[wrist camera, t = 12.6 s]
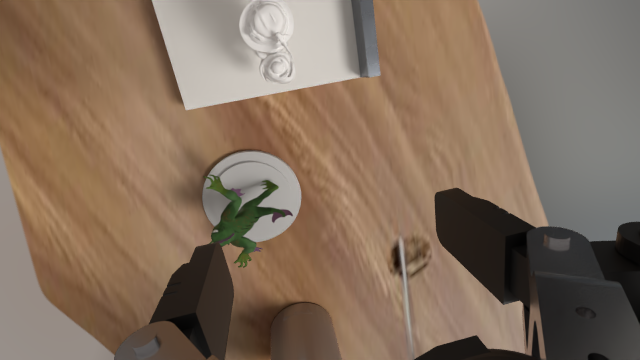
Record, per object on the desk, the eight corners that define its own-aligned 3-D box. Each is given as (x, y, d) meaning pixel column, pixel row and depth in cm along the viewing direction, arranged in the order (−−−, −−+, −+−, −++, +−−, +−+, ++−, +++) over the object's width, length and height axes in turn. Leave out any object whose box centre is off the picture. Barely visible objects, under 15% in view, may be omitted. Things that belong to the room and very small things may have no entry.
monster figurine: (188, 165, 38) (161, 196, 28) (286, 138, 39) (292, 159, 29) (223, 250, 42) (210, 302, 32) (310, 223, 43) (323, 267, 33)
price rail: (371, 75, 35) (380, 75, 32) (360, 77, 35) (368, 77, 32) (358, -42, 31) (367, -54, 28) (346, -40, 31) (354, -52, 28)
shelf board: (363, 75, 38) (371, 75, 35) (192, 107, 36) (185, 110, 33) (350, -32, 34) (358, -42, 31) (159, -3, 32) (148, -10, 29)
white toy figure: (295, 78, 34) (310, 80, 22) (259, 87, 33) (256, 93, 22) (273, -18, 31) (277, -72, 19) (232, -10, 30) (213, -59, 19)
